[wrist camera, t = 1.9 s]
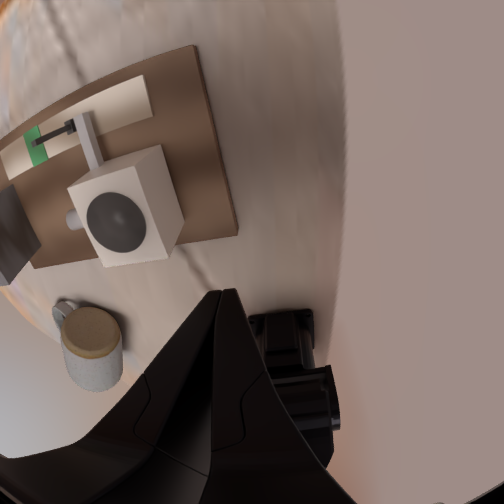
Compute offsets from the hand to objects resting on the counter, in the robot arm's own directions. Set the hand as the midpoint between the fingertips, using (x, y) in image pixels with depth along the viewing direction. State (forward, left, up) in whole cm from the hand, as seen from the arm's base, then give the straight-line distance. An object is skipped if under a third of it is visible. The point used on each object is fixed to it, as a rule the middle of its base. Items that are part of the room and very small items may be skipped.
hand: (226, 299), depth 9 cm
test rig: (+2, +13, -13) cm, 18 cm away
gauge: (+2, +9, -12) cm, 15 cm away
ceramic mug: (-15, +22, -13) cm, 30 cm away
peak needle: (+6, +11, -11) cm, 17 cm away
